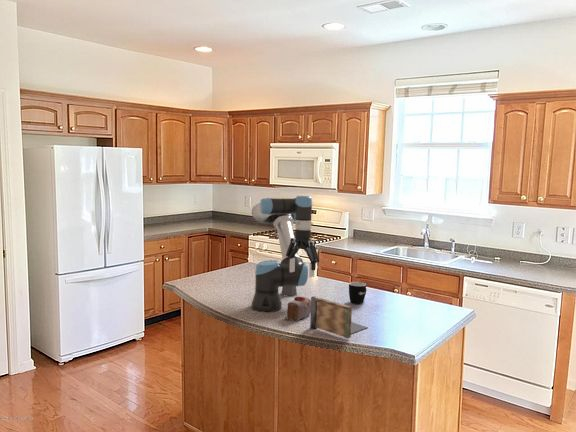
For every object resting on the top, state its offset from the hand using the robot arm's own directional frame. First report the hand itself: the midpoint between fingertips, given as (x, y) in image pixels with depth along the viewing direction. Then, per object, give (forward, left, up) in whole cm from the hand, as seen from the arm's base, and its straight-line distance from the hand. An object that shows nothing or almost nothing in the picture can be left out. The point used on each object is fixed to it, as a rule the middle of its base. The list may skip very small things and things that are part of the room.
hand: (301, 274), depth 219 cm
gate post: (+15, -7, -20) cm, 26 cm away
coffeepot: (-31, +24, -21) cm, 44 cm away
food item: (0, 0, -21) cm, 21 cm away
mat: (+25, +4, -20) cm, 33 cm away
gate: (+26, -7, -19) cm, 33 cm away
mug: (+3, +41, -21) cm, 46 cm away
